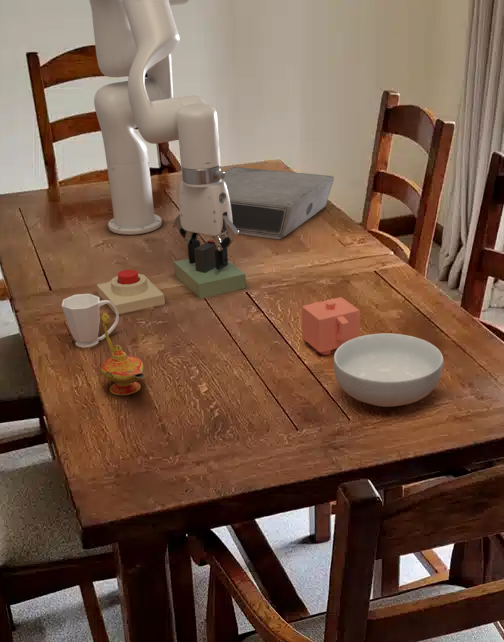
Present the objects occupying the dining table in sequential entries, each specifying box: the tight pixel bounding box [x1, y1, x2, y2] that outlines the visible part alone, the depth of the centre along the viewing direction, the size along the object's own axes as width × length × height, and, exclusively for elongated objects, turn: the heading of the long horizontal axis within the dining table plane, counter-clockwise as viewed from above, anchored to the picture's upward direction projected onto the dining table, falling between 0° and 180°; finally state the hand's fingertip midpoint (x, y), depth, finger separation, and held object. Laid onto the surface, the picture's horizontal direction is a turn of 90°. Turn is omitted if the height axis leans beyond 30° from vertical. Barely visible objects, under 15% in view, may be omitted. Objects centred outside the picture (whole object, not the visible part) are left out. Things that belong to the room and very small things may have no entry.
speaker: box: [222, 166, 335, 240], centre depth 223 cm, size 24×8×30 cm
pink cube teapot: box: [301, 296, 361, 356], centre depth 165 cm, size 8×12×8 cm, turn 24°
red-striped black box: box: [194, 239, 217, 273], centre depth 191 cm, size 6×2×5 cm, turn 145°
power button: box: [117, 269, 139, 284], centre depth 186 cm, size 4×4×2 cm
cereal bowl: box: [333, 332, 444, 408], centre depth 149 cm, size 17×17×7 cm
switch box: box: [96, 273, 166, 315], centre depth 187 cm, size 12×10×4 cm
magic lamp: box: [100, 312, 146, 396], centre depth 153 cm, size 7×18×11 cm, turn 25°
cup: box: [61, 293, 120, 348], centre depth 171 cm, size 7×10×8 cm
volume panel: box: [173, 258, 247, 299], centre depth 193 cm, size 14×10×3 cm
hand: (208, 263), depth 192 cm, fingers open, 6 cm apart
